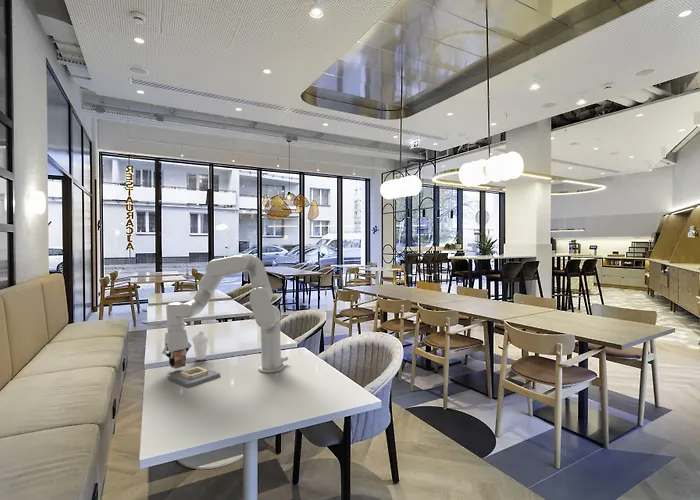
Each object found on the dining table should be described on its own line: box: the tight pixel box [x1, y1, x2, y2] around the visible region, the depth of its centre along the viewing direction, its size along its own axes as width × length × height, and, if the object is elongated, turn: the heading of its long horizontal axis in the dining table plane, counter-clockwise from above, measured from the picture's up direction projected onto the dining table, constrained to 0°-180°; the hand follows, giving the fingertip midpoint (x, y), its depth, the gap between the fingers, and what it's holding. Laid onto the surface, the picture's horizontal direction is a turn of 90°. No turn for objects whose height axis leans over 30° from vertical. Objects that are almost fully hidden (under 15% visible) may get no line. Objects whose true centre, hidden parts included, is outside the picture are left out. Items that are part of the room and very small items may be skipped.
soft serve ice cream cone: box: [191, 329, 209, 361], centre depth 206 cm, size 8×8×16 cm
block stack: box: [170, 350, 187, 370], centre depth 189 cm, size 5×5×8 cm
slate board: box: [167, 365, 221, 388], centre depth 179 cm, size 16×18×3 cm
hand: (177, 363), depth 189 cm, fingers closed on block stack, 5 cm apart
